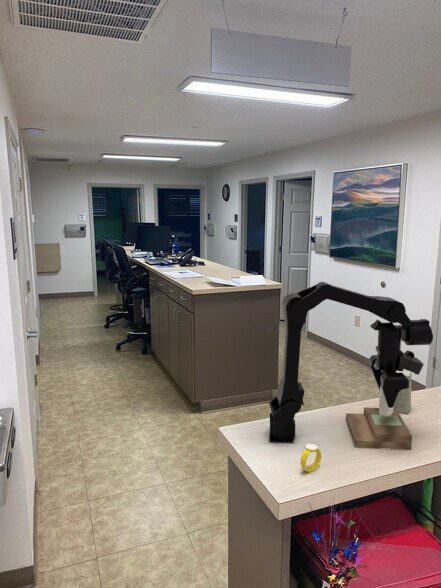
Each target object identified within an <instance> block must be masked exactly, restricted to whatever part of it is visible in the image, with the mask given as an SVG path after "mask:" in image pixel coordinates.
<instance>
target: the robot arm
mask: <svg viewBox="0 0 441 588" xmlns="http://www.w3.org/2000/svg"><path fill="white" fill-rule="evenodd" d="M326 300H330V301H332V302H333V301H334V302H337V303H339V304H343V305H347V306H351V307H353V308H358V309H360V310H364V311H367V312H369V313H371V314H373V315H375V316H377V317H379V318H381V319H383V320H385V321H387V322H382V321H381V320H379V319H376V320H375V321H374V322H373V323H371V324H370V326H369V327H370V328H371V329H372V330H374V331H377V345H376V346H375V351H376V354H372V355H371V356H370V357H369V363H368V364H369V366H370V370H371V372H372V374H373V377H374V380H375V382H376V385H377V388H378V390H379V392H380V386H381V387H382V390H383V393H384V396H385V399H386V402H387V405H388V407H389V408H393V406H394V403H395V400H396V398H397V395H398V393H399V391H401V390H402V389H408V388H409V382H410V381H409V380H408V378H407V377H406V376H405V375H404V374H403V373H398V372H396V371H409V372H411V373H412V374H415V375H420V373H421V372H422V369H423V367H424V363H423V362H422V360H421V359H418V358H417V357H415V353H414V352H413V351H411V350H408V349H407V350H406V351H405V352H403V350H401V347H402V342H404V344H405V345H406V346H430V345H431V344H432V343H433V339H434V334H433V330H432V327H431V326H430V320H429V319H426V318H423V319H422V318H421V319H410V318H409V316H408V314H407V313H406V311H407V310H406V307H405V305H404V303H402V302H400V301H399V300H396V299H394V298H391V297H389V296H379V295H378V296H377V295H367V294H363V293H360V292H356V291H353V290H350V289H346V288H343V287H340V286H336V285H334V284H330V283H328V282H326V281H320V282H318V283H317V284H315V285H312V286H310V287H308V288H304V289H302V290H300V291H298V292H296V293H295V292H291V293H289V294H286V296H284V297H283V298H282V302H281V306H282V314H283V320H284V324H285V331H284V335H285V336H284V337H285V338H284V348H283V349H284V351H283V365H282V376H281V379H280V382H279V384H278V388H277V392H276V396H275V397H274V398H273V399H272V400H270V401H269V402H268V405H269V408H270V413H269V438H268V440H269V442H270V443H271V442H272V443H290V444H291V443H294V442H295V441H294V439H295V438H296V419H295V417H296V414H298V413H299V412H300V411H301V409H302V406H304V405H305V403H304V395H305V389H304V387H303V385H302V382H299V371H300V370H299V366H300V354H301V353H300V351H301V340H302V339H301V337H302V330H303V327H304V325H305V322H306V320H307V317H308V316H307V315H308V312H309V311H312V310H313V309H315V308H316V307H317V306H319V305H320V304H321V303H322V302H324V301H326ZM397 323H398V324H397ZM396 324H397V325H396Z"/></svg>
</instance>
